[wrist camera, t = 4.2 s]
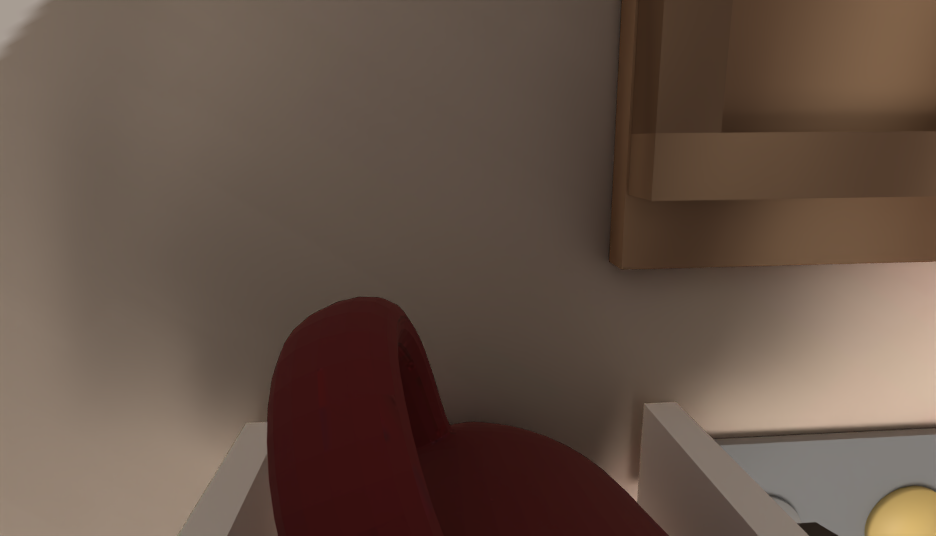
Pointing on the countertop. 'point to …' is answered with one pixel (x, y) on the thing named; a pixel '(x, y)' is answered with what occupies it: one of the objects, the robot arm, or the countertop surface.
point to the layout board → (774, 133)
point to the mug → (413, 447)
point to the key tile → (847, 478)
